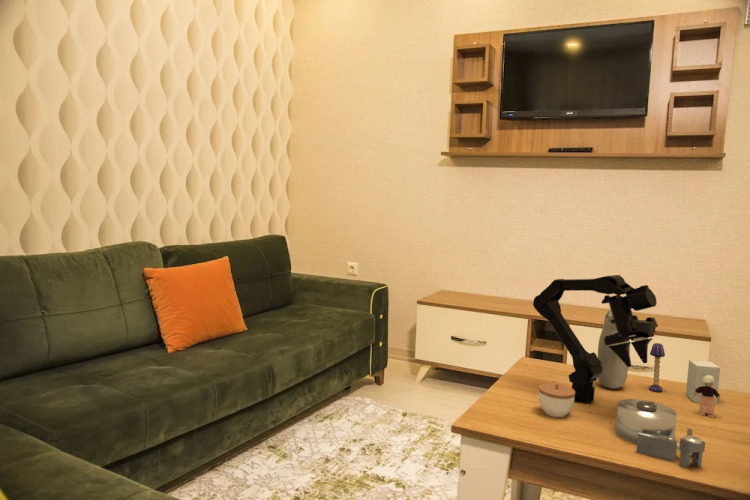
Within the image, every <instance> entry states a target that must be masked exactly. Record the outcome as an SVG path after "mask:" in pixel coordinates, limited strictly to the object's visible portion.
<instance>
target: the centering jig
mask: <svg viewBox="0 0 750 500" xmlns="http://www.w3.org/2000/svg"><path fill="white" fill-rule="evenodd" d="M679 440H680V441H679V444H680V448H681V451H680V457H679V466H681V467H683V468H685V469H690V465H691V464H692V465H693V466H695V467H696V468H700V467H702V461H703V460H702V459H703V452H705V445H706V442H705V441H703V440H702V439H701V438H699V437H698V436H694V435H693V429H692V428H687V430H686V435H683V437H682V438H680V439H679ZM677 443H678V440H676V441H674V440H670V439H666V438H661V437H657V436H652V435H648V434H644V433H638V441H637V444H636V453H639V454H641V455H646V456H650V457H655V458H657V459H658V458H660V459H663V460H667V461H672V462H676V457H677ZM690 453H694V455H693V457H690ZM690 463H691V464H690Z"/></svg>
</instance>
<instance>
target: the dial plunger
mask: <svg viewBox="0 0 750 500" xmlns="http://www.w3.org/2000/svg"><path fill="white" fill-rule="evenodd" d="M668 439H670V440H674V441H677V440H676V439H673V438H668ZM676 451H679V452H681V448H680V442H677V449H676ZM693 455H694V453H690V458H692V457H693Z"/></svg>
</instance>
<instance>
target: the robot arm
mask: <svg viewBox="0 0 750 500" xmlns="http://www.w3.org/2000/svg"><path fill="white" fill-rule="evenodd" d="M565 291H588V292H589V291H590V292H591V291H592V292H595V293H598V294H604V295H605V296H604V297H603V299H602V300H601V304H603V305H604V304H608V305H609V309H610V310H611V312H612V316H613V319H614V320H611V322H612V323H615V326H616V329H617V333H615V334H613V335H608V336H605V338H604V342H605V346H606V345H611V344H612V346H608V347H609V348H611V349H612V350H613V351H614V352H615V353H616V354H617V355H618V357H619V358H620V359H621V360H622V361H623V362H624V363H625V365H626V366H627V367H628V368H631V367H632V361H631V357H630V356H631V355H630V354H629V350H628V348H629V345H630V346H631V345H632V347H633V350H635V352H636V354H637V356H638V357H639V359H640V360H641V362H642V363H643V364H647V363H648V347H649V344H650V342H651V341H652V340H653V339H654V338H653V337H655V334H654V333H656V328H658V327H659V324H658V322H657V319H656V318H655V317H651V316H650V317H649V316H648V317H646V318H645V319H639V317H638V315H636V314H633V311H636V312H638V311H641V310H642V311H643V310H646V309H650V308H655V307H656V306H657V303H658V301H657V297H656V294H654V292H653V290H651V289H650V288H649V285H648V284H645V285H641V286H639V287H635V288H634V287H632V286H631V285H630V284H628V283H627V282H626V280H625V279H624V278H623V276H622V275H619V274H613V275H612V274H611V275H606V276H601V277H596V278H576V279H575V278H572V279H571V278H570V279H568V278H567V279H565V278H559V279H554V280H553V281H551V283H549V285H548V286H547V287H545V288H544V289H543V290H542V291H541V292H540V293H539V294H538V295H536V296H535V297H534V298H533V302H532V306H533V308H534V309H535V311H536V312H537V313H539V315H540V316H542V317H543V318H544V319H546V320H547V321H548V322H549V324H550V325H551V326H552V329H554V331H555V333H556V335H557V336H558V337H559V339H560V340H561V342H562V343H563V345H564V346H565V349H566V350H567V351H568V353H569V355H570V356H571V359H572V365H573V368H574V371H573V372H571V373H569V375H568V380H569V382H570V383H571V384H572V385H571V388H572V389H574V390H575V398H574V402H578V403H584V404H589V405H591V404H592V402H593V401H594V399H595V389H596V387H595V386H594V382H596V381H597V379H598V377H599V376H600V375H601V374H602V370H603V368H602V365H601V363H602V362H601V361H600V360H599V359H598V355H597V353H595V352H594V351H593V352H588V351H587V350H586V349H585V347H584V346H583V344H582V343H581V342H580V340H579V339H578V337H577V335H576V334H575V332H574V331H573V329H572V328H571V326H570V325H569V324H568V322H567V320H566V319H565V316H563V315H562V307H561V304H560V302H559V301H560V300H561V299H562V297H563V296H564V292H565ZM611 295H612V296H611ZM622 295H624V296H622ZM632 310H633V311H632ZM629 340H631V341H630V342H628V343H627V341H629Z"/></svg>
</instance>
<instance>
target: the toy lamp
mask: <svg viewBox="0 0 750 500" xmlns="http://www.w3.org/2000/svg"><path fill="white" fill-rule="evenodd" d="M649 354H650V356H653V357H654V361H653V362H654V365H653V367H654V368H653V382H652V383H653V384H651V385H650V386H649V388H648V390H649V391H651V392H655V393H662V392H663V388H662V386H661V385H660V383H659V382H660V368H661V365H660V364H661V361H660V360H661V358H664V357H665V356H666V354H665V349H664V345H663V344H662V343H657V342H656V343H655V342H654V343H653V344H652V346H651V350H650V352H649Z"/></svg>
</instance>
